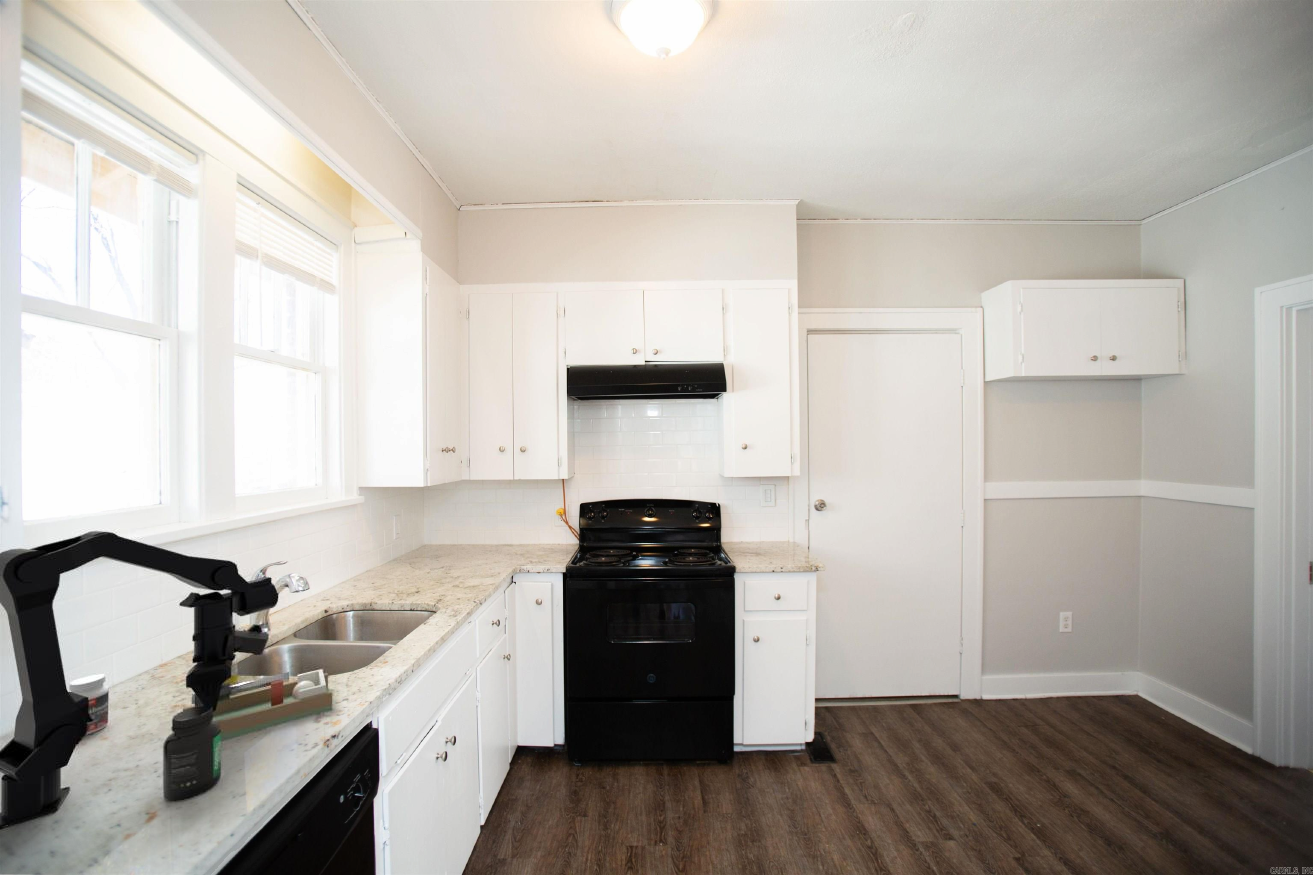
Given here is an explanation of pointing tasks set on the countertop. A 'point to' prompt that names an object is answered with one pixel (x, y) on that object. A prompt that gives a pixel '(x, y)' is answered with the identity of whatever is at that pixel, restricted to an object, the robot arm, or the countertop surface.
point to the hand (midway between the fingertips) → (213, 704)
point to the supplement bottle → (191, 754)
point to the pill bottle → (93, 699)
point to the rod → (252, 688)
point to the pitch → (266, 709)
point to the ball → (301, 686)
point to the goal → (316, 678)
